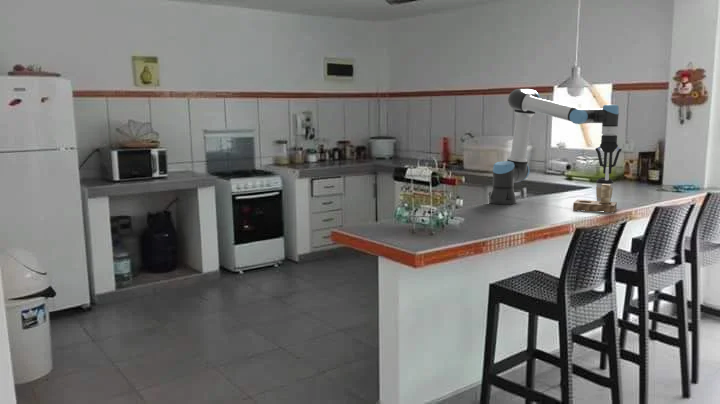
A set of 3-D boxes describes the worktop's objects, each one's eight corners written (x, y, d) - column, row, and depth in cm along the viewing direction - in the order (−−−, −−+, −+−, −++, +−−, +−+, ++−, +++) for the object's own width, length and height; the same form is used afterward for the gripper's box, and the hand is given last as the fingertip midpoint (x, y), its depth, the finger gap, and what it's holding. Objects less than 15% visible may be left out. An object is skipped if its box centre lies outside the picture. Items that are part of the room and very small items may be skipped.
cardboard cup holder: (573, 210, 310) (573, 202, 310) (576, 206, 321) (577, 199, 320) (613, 213, 300) (614, 205, 300) (616, 209, 311) (616, 202, 310)
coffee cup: (613, 206, 321) (615, 179, 318) (596, 205, 322) (598, 179, 320) (610, 203, 329) (611, 177, 327) (593, 203, 331) (594, 177, 329)
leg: (600, 211, 307) (601, 184, 305) (601, 209, 311) (602, 183, 308) (608, 211, 305) (610, 185, 303) (609, 210, 309) (610, 184, 307)
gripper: (594, 134, 301) (592, 180, 305) (622, 135, 295) (619, 181, 299) (597, 134, 308) (594, 178, 312) (623, 134, 301) (621, 179, 305)
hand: (606, 179), depth 305 cm, fingers closed
